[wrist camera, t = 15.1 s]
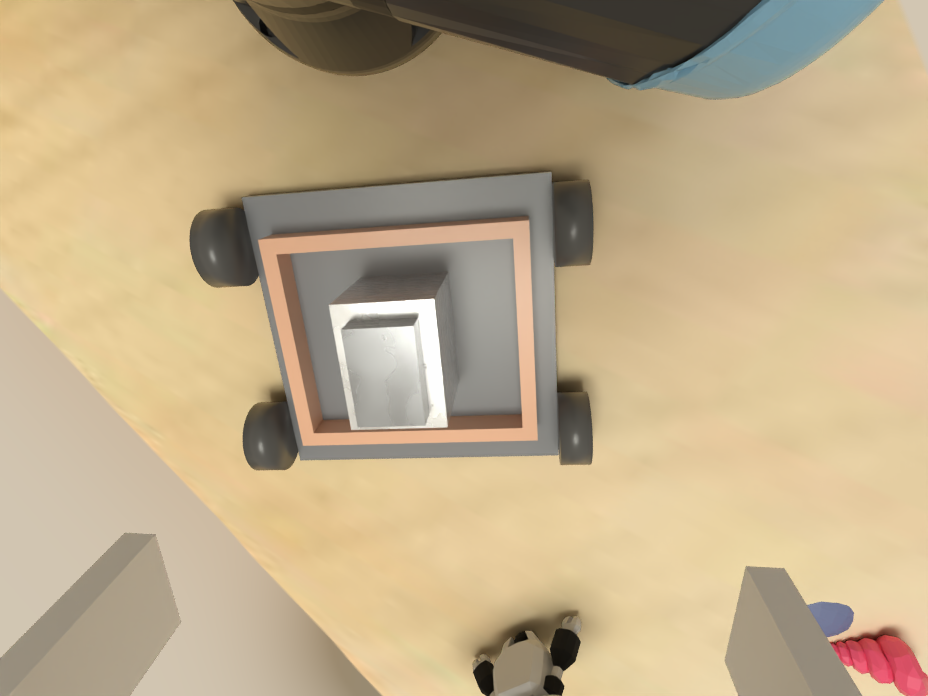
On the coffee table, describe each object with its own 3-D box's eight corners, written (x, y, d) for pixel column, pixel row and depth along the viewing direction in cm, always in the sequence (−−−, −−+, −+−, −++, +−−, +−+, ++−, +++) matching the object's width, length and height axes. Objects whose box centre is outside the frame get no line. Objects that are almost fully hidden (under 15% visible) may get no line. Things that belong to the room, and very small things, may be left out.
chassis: (222, 198, 36) (178, 206, 31) (582, 168, 33) (593, 172, 29) (282, 452, 43) (254, 489, 39) (583, 445, 40) (592, 485, 36)
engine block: (360, 277, 36) (319, 313, 28) (448, 271, 35) (429, 306, 28) (377, 384, 39) (343, 442, 31) (458, 382, 38) (444, 440, 31)
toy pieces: (876, 574, 42) (914, 619, 38) (913, 667, 45) (952, 719, 41) (727, 619, 46) (748, 666, 41) (771, 704, 48) (795, 756, 44)
